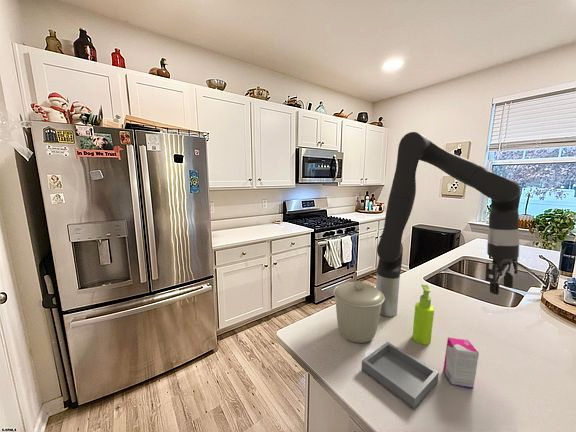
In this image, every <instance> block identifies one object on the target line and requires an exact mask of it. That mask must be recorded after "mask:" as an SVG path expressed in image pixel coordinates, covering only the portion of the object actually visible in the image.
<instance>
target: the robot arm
mask: <svg viewBox="0 0 576 432" xmlns="http://www.w3.org/2000/svg"><path fill="white" fill-rule="evenodd" d="M398 143H399V144H398V149H397V156H396V157H397V159H396V165H395V166H396V167H395V172H394V175H393V179H392V184H391V187H390V191H389V196H388V200H387V205H386V212H385V218H384V225H383V226H384V227H383V230H382V233H381V236H380V239H379V241H378V244H377V248H376V253H377V256H378V257H379V258H378V263H377V267H376V281H375V288H376V289H378V290H379V291H381V292H382V293H383V295H384V297H385V300H384V302H383V303H382V306H381V312H380V316H382V317H388V318H389V317H395V316H397V315H398V314H397V313H398V304H399V293H400V292H399V291H400V282H401V280H400V279H401V270H402V265H403V264H402V262H403V253H404V247H403V244H402V239H403V233H404V231H405V228H406V225H407V223H408V221H409V218H410V216H411V214H412V212H413V211H412V210H413V208H414V204H415V203H414V202H415V198H416V193H417V182H416V173H417V169H418V164H419V162H420V161H422V162H424V163H427V164H430V165H432V166H433V167H436V168H438V169H440V170H441V172H444V174H447V175H448V176H450V177H452V178H453V179H455V180H457V181H458V182H461V183H463V184H465V185H466V186H468V187H471V188H473V189H475V190H476V191H478V192H480V193H481V194H482V195H484V196H485V197H488V198H489V199H490V200H491V201H490V203H491V205H490V207H491V210H490V213H489V216H488V221H489V222H488V231H487V252H486V253H487V255H488V256H489V257H491V258H492V262H486V265H485V278H484V279H485V280H484V281H486V282H489V293H490V294H493V295H500V282H501V280H502V279H503V287H505V288H509V289H511V288H513V287H514V277H515V276H516V275H518V264H519V263H518V261H519V260H518V259H519V256H520V232H519V230H520V229H519V225H520V224H519V223H520V216H519V215H520V214H519V207H520V199H521V198H520V197H521V186H520V184H519V183H518V182H517V181H516V180H514V179H509V178H507V177H505V176H502V175H499V174H497V173H495V172H492V171H491V170H489V169H488V168H486V167H485V166H482V165H481V164H478V163H477V162H474V161H471V160H469V159H467V158H465V157H463V156H460V155H457V154H454V153H452V152H450V151H447V150H446V149H444V148H442V147H440V146H438V145H437V144H436V143H434V142H433V141H432V140H430V139H429V138H428V137H427V136H426V135H424V134H422V133H419V132H417V131H412V132H407V133H406V134H404V135H403V136H402V137H401V139H400V141H399V142H398Z"/></svg>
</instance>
